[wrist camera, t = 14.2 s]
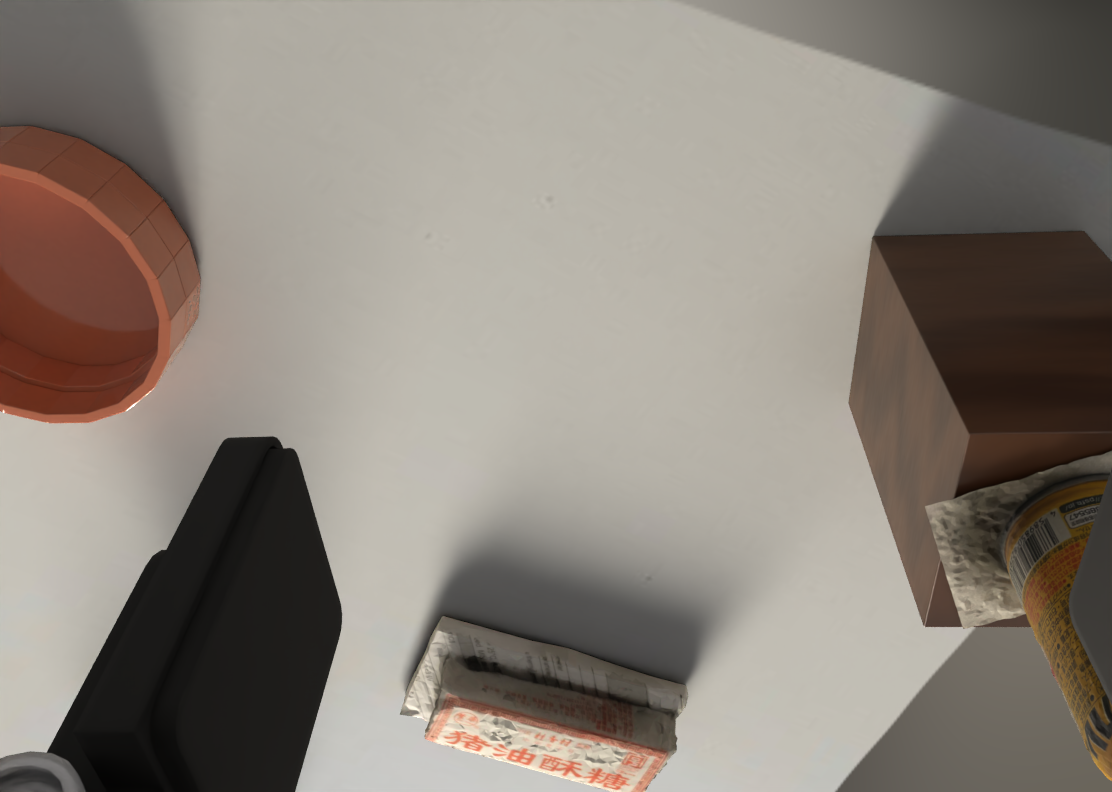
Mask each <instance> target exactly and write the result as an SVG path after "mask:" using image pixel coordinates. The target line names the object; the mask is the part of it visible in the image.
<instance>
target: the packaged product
mask: <svg viewBox="0 0 1112 792" xmlns="http://www.w3.org/2000/svg"><path fill="white" fill-rule="evenodd" d="M687 699H688V693H687V687H686V686H685V685H682V684H678V683H674V682H671V681H667V680H663V679H659V678H656V677H652V676H648V675H645V674H642V673H639V672H636V671H633V670H630V669H627V668H624V667H621V666H618V665H615V664H612V663H609V662H606V661H603V660H600V659H597V658H594V657H591V656H589V655H586V654H583V653H580V652H577V651H575V650H572V649H569V648H565V647H560V646H555V645H550V644H545V643H540V642H535V641H531V640H527V639H523V638H520V637H516V636H513V635H509V634H506V633H502V632H498V631H495V630H491V629H488V628H484V627H480V626H477V625H473V624H470V623H466V622H463V621H459V620H455V619H452V618H448V617H445V616H442V618H441V619H440V621H439V623H438V625H437V627H436V628H435V630H434V632H433V634H432V635H431V638H430V641H429V643H428V646H427V649H426V651H425V653H424V655H423V657H422V659H421V661H420V663H419V666H418V668H417V670H416V672H415V674H414V676H413V678H412V680H411V682H410V684H409V686H408V688H407V692H406V696H405V699H404V703H403V706H402V709H401V713H400V715H407V716H414V717H418V718H422V719H423V720H425V721H426V722H429V724H428V726H427V728H426V730H425V733H426V734H425V739H427V740H429V741H432V742H435V743H437V744H442V745H445V746H449V747H452V748H455V749H459V750H463V751H466V752H471V753H475V754H479V755H482V756H483V757H490V758H493V759H496V760H499V761H503V762H507V763H511V764H515V765H518V766H522V767H526V768H528V769H531V770H536V771H541V772H545V773H547V774H550V775H553V776H558V777H561V778H565V779H568V780H571V781H576V782H580V783H584V784H587V785H591V786H594V787H596V788H602V789H605V790H608V791H612V792H645V791H646V789H647V787H648V785H649V784H650V782H651V781H652V780H653V779H654V778H655V777H656V775H657V774H658V773H660V771H661V770H662V768H663V767H664V766H665V765H666V764H667V761H668V760H669V759H670V757H671V756H672V755H673V754H674V753H675V752H676V750H677V746H676V741H677V737H676V735H675V722H676V718H677V717H678V716H679V714H680V713H681V712H682V710H683V709H684V708H685V706H686V703H687Z"/></svg>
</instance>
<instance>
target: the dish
mask: <svg viewBox="0 0 1112 792" xmlns="http://www.w3.org/2000/svg"><path fill="white" fill-rule="evenodd" d="M199 296H200V275H199V272H198V268H197V265H196V261H195V258H194V254H193V251H192V247H191V244H190V241H189V239H188V237H187V235H186V234H185V232H184V231H183V229H182V228H181V226H180V224H179V223H178V221H177V220H176V218H175V217H174V215H173V213H172V212H171V210H170V209H169V207H168V206H167V204H166V203H165V201H164V200H163V198H162V197H161V196H159V195H158V194H157V193H156V192H155V191H154V190H153V189H152V188H151V187H150V186H149V185H148V184H147V183H146V182H144V181H143V180H142V179H141V178H140V177H139V176H138V175H137V174H136V173H135V172H134V171H133V170H132V169H130V168H129V167H128V166H127V165H126V164H125V163H123V162H121V161H119V160H118V159H116V158H114V157H112V156H110V155H109V154H107V153H105V152H103V151H101V150H100V149H98V148H96V147H94V146H93V145H91V144H89V143H87V142H85V141H84V140H82V139H79V138H75V137H72V136H68V135H64V134H60V133H57V132H53V131H49V130H45V129H41V128H38V127H34V126H14V127H0V411H1V412H4V413H7V414H11V415H15V416H20V417H24V418H28V419H33V420H37V421H41V422H45V423H90V422H94V421H97V420H100V419H103V418H106V417H109V416H112V415H116V414H119V413H122V412H125V411H127V410H129V409H130V408H131V407H132V406H134V405H135V404H136V403H137V402H139V401H140V400H141V399H142V398H144V397H145V396H146V395H147V394H149V393H150V392H151V391H152V390H153V389H154V388H155V387H156V385H157V384H158V382H159V381H160V379H161V378H162V376H163V375H164V374H165V372H166V371H167V369H168V368H169V366H170V365H171V363H172V362H173V360H174V359H175V357H176V356H177V354H178V353H179V351H180V350H181V348H182V347H183V345H184V343H185V341H186V339H187V338H188V336H189V334H190V332H191V330H192V328H193V326H194V324H195V322H196V320H197V316H198V312H199Z"/></svg>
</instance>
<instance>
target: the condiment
mask: <svg viewBox="0 0 1112 792" xmlns="http://www.w3.org/2000/svg"><path fill="white" fill-rule="evenodd" d="M1111 469H1112V451H1110V452H1107V453H1105V454H1103V455H1099V456H1091V457H1088V458H1084V459H1081V460H1077V461H1074V462H1071V463H1069V464H1068V465H1060V466H1057V467H1054V468H1051V469H1049V470H1046V471H1043V472H1037V473H1035V474H1033V475H1031V476H1029V477H1026V478H1024V479H1021V480H1017V481H1009V482H1005V483H1002V484H999V485H996V486H991V487H986V488H983V489H979V490H976V491H973V492H970V493H967V494H965V495H962V496H960V497H957V498H955V499H952V500H947V501H942V502H939V503H935V504H932V505H928V506H925V509H926V512H927V516H928V519H929V522H930V525H931V528H932V532H933V535H934V538H935V541H936V544H937V547H938V551H939V554H940V557H941V560H942V564H943V567H944V570H945V573H946V577H947V580H948V583H949V586H950V589H951V591H952V595H953V598H954V602H955V605H956V608H957V611H958V614H959V617H960V620H961V624H962V627H963V629H965V628H970V627H973V626H981V625H985V624H989V623H992V622H995V621H997V620H1002V619H1011V618H1016V617H1018V616H1021V615H1023V614H1026V615H1027V619H1028V621H1029V623H1030V625H1031V627H1032V629H1033V631H1034V634H1035V638H1036V640H1037V641H1038V643H1039V644H1040V645H1041V648H1042V650H1043V653H1044V655H1045V657H1046V659H1047V660H1048V663H1049V665H1050V667H1051V670H1052V673H1053V676H1054V677H1055V679H1056V680H1057V683H1058V685H1059V687H1060V690H1061V692H1062V693H1063V696H1064V698H1065V700H1066V703H1067V704H1068V707H1069V709H1070V714H1071V715H1072V717H1073V719H1074V721H1075V722H1076V725H1077V727H1078V729H1079V731H1080V733H1081V735H1082V738H1083V740H1084V742H1085V746H1086V748H1087V750H1088V751H1089V753H1090V755H1091V757H1092V759H1093V761H1094V762H1095V764H1096V765H1097V767H1098V768H1099V769H1100V770H1101V771H1102V772H1103V773H1104V775H1105V776H1106V777H1107V778H1108V779H1109V780H1111V781H1112V705H1111V703H1110V701H1109V699H1108V697H1107V694H1106V692H1105V690H1104V688H1103V686H1102V684H1101V682H1100V680H1099V678H1098V676H1097V674H1096V672H1095V670H1094V668H1093V666H1092V664H1091V662H1090V660H1089V658H1088V656H1087V653H1086V651H1085V649H1084V647H1083V645H1082V643H1081V641H1080V639H1079V637H1078V635H1077V633H1076V631H1075V629H1074V626H1073V624H1072V621H1071V617H1070V612H1069V596H1070V592H1071V589H1072V586H1073V583H1074V580H1075V577H1076V574H1077V571H1078V568H1079V565H1080V562H1081V559H1082V556H1083V553H1084V550H1085V547H1086V544H1087V541H1088V538H1089V535H1090V532H1091V529H1092V526H1093V523H1094V520H1095V517H1096V514H1097V511H1098V508H1099V505H1100V502H1101V499H1102V496H1103V493H1104V490H1105V487H1106V484H1107V481H1108V478H1109V475H1110V472H1111Z"/></svg>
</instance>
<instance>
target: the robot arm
mask: <svg viewBox="0 0 1112 792" xmlns="http://www.w3.org/2000/svg"><path fill="white" fill-rule="evenodd" d="M1069 612H1070V617H1071V621H1072V624H1073V626H1074V629H1075V631H1076V633H1077V635H1078V637H1079V639H1080V641H1081V643H1082V645H1083V647H1084V649H1085V651H1086V653H1087V656H1088V658H1089V660H1090V662H1091V664H1092V666H1093V668H1094V670H1095V672H1096V674H1097V676H1098V678H1099V680H1100V682H1101V684H1102V686H1103V688H1104V690H1105V692H1106V694H1107V697H1108V699H1109V701H1110V703H1111V705H1112V469H1111V472H1110V475H1109V478H1108V481H1107V484H1106V487H1105V490H1104V493H1103V496H1102V499H1101V502H1100V505H1099V508H1098V511H1097V514H1096V517H1095V520H1094V523H1093V526H1092V529H1091V532H1090V535H1089V538H1088V541H1087V544H1086V547H1085V550H1084V553H1083V556H1082V559H1081V562H1080V565H1079V568H1078V571H1077V574H1076V577H1075V580H1074V583H1073V586H1072V589H1071V592H1070V596H1069ZM341 625H342V610H341V604H340V600H339V596H338V593H337V589H336V586H335V582H334V579H333V576H332V572H331V569H330V565H329V562H328V558H327V555H326V551H325V548H324V544H323V541H322V538H321V534H320V531H319V527H318V524H317V520H316V517H315V513H314V510H313V506H312V503H311V500H310V496H309V493H308V489H307V486H306V482H305V479H304V475H303V472H302V468H301V465H300V462H299V458H298V456H297V453H296V452H295V450H294V449H291V448H284V449H283V447H282V445H281V442H280V441H279V440H278V439H277V438H276V437H239V438H227V439H225V440H224V441H223V442H222V444H221V445H220V447H219V449H218V451H217V453H216V455H215V457H214V459H213V461H212V462H211V464H210V466H209V468H208V470H207V472H206V474H205V476H204V478H203V480H202V482H201V484H200V486H199V488H198V490H197V492H196V493H195V495H194V497H193V499H192V501H191V503H190V505H189V507H188V509H187V511H186V513H185V515H184V517H183V519H182V521H181V523H180V524H179V526H178V528H177V530H176V532H175V534H174V536H173V538H172V540H171V542H170V544H169V546H168V548H167V550H161V551H159V552H158V553H156V554H155V555H153V556H152V558H151V559H150V561H149V562H148V564H147V565H146V566H145V568H144V570H143V572H142V574H141V576H140V578H139V580H138V581H137V583H136V585H135V587H134V589H133V591H132V593H131V595H130V597H129V598H128V600H127V602H126V604H125V606H124V608H123V610H122V612H121V614H120V615H119V617H118V619H117V621H116V623H115V625H114V627H113V629H112V631H111V632H110V634H109V636H108V638H107V640H106V642H105V644H104V646H103V648H102V649H101V651H100V653H99V655H98V657H97V659H96V661H95V663H94V664H93V666H92V668H91V670H90V672H89V674H88V676H87V678H86V680H85V681H84V683H83V685H82V687H81V689H80V691H79V693H78V695H77V697H76V698H75V700H74V702H73V704H72V706H71V708H70V710H69V712H68V714H67V715H66V717H65V719H64V721H63V723H62V725H61V727H60V729H59V731H58V732H57V734H56V736H55V738H54V740H53V742H52V744H51V746H50V747H49V749H48V751H47V753H43V752H31V751H30V752H25V753H20V754H15V755H10V756H6V757H3V758H1V759H0V792H295V790H296V786H297V783H298V779H299V776H300V772H301V769H302V765H303V762H304V758H305V755H306V751H307V748H308V744H309V741H310V738H311V734H312V731H313V727H314V724H315V720H316V717H317V713H318V710H319V706H320V703H321V699H322V696H323V692H324V689H325V685H326V682H327V678H328V675H329V671H330V668H331V664H332V661H333V658H334V654H335V651H336V647H337V644H338V640H339V637H340V632H341Z"/></svg>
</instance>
